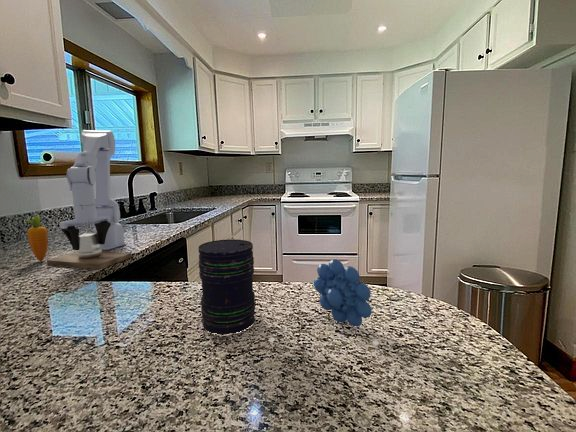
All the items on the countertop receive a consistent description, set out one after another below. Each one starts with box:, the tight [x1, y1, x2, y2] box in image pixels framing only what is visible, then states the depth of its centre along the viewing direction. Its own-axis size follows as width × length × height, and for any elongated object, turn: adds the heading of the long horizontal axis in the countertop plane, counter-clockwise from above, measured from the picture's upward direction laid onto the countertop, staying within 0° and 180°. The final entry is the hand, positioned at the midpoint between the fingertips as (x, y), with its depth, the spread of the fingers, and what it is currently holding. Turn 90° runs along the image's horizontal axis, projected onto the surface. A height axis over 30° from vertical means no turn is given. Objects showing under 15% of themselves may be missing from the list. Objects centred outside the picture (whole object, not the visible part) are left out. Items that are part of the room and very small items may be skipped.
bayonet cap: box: [77, 231, 103, 258], centre depth 96 cm, size 6×7×7 cm
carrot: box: [25, 215, 49, 262], centre depth 96 cm, size 5×5×15 cm
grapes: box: [313, 258, 373, 327], centre depth 54 cm, size 12×7×12 cm, turn 53°
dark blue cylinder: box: [198, 238, 256, 334], centre depth 55 cm, size 10×10×15 cm
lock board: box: [46, 250, 133, 270], centre depth 97 cm, size 13×20×2 cm, turn 75°
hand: (89, 246), depth 97 cm, fingers open, 7 cm apart
